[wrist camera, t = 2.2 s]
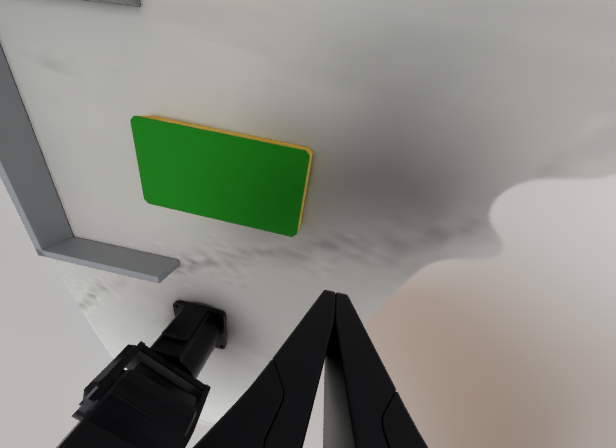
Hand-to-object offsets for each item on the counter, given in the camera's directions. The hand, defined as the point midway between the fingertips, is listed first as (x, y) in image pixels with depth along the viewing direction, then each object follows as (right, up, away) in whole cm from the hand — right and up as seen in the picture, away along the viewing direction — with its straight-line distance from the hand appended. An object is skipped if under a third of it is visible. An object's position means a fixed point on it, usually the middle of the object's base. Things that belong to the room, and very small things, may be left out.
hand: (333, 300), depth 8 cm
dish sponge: (-8, +7, +12) cm, 16 cm away
